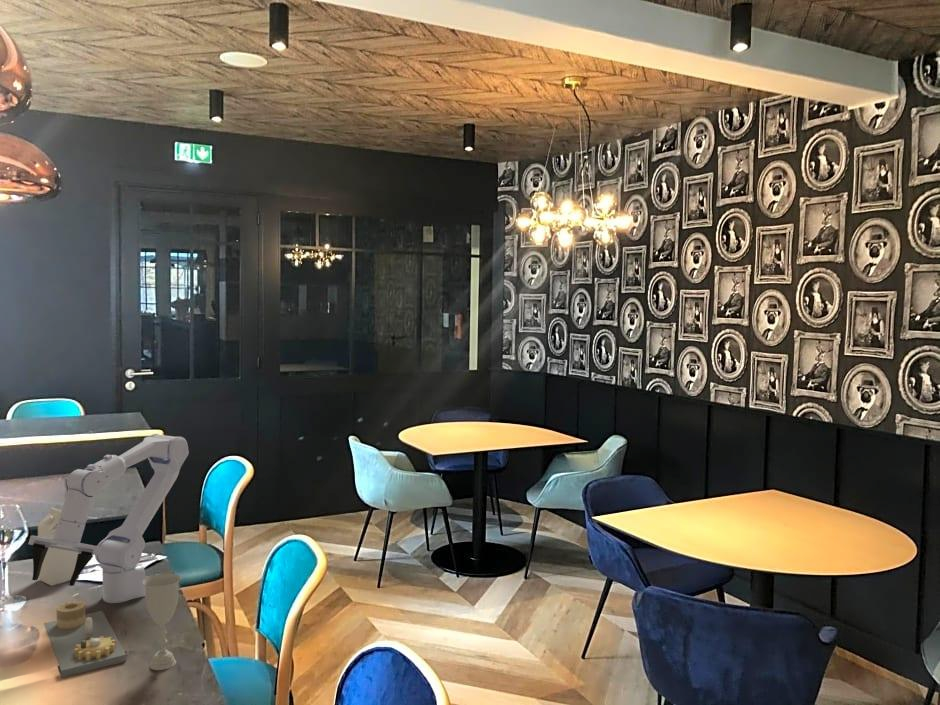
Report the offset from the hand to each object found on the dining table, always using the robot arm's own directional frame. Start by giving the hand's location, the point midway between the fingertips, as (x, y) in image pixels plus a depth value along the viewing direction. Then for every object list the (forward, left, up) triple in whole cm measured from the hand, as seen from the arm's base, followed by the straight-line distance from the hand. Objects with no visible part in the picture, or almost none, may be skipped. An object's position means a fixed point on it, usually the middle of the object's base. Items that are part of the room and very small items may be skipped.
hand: (53, 582), depth 167 cm
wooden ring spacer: (-3, +1, -10) cm, 11 cm away
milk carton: (-5, -34, -12) cm, 36 cm away
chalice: (-16, +29, -12) cm, 35 cm away
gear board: (-4, +11, -11) cm, 16 cm away
